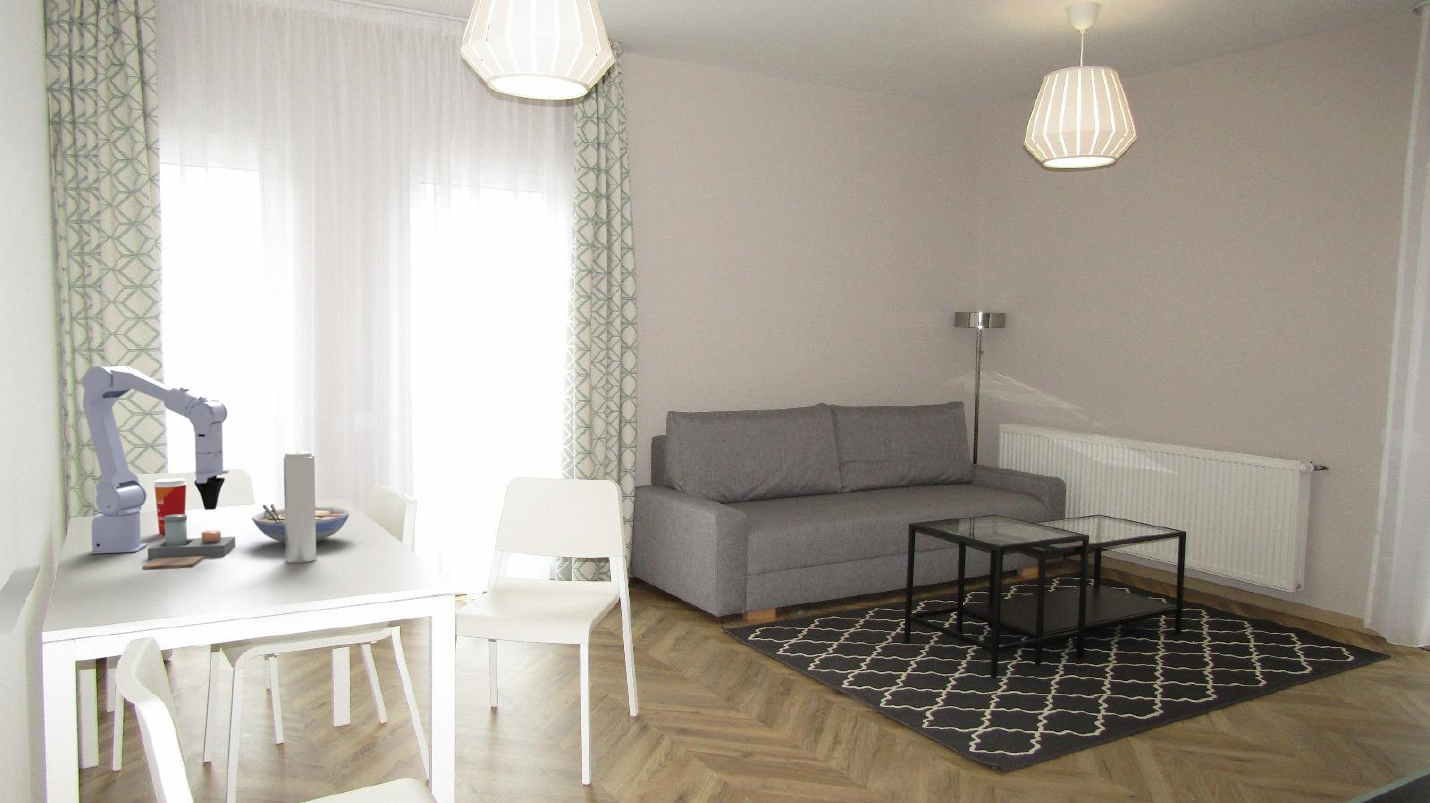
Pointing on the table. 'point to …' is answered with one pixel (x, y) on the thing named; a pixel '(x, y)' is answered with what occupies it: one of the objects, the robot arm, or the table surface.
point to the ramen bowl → (326, 517)
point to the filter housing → (192, 548)
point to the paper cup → (169, 499)
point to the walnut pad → (172, 562)
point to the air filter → (299, 507)
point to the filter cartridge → (175, 530)
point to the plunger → (211, 536)
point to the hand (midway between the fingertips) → (210, 509)
